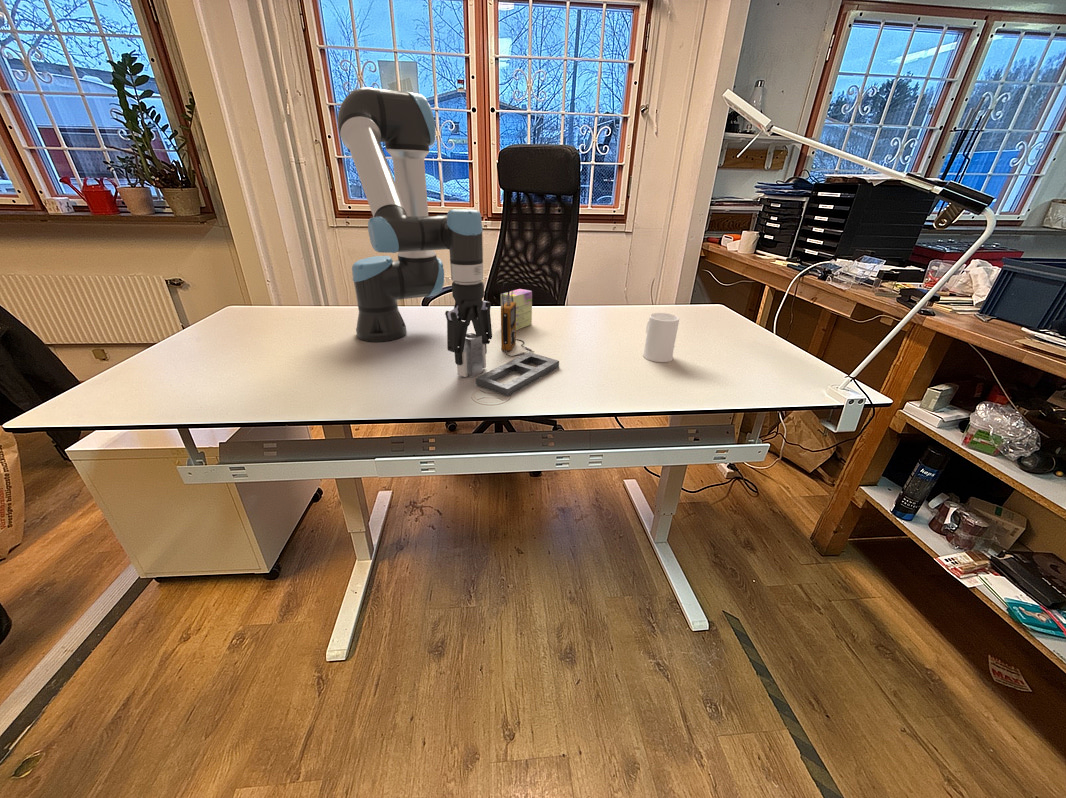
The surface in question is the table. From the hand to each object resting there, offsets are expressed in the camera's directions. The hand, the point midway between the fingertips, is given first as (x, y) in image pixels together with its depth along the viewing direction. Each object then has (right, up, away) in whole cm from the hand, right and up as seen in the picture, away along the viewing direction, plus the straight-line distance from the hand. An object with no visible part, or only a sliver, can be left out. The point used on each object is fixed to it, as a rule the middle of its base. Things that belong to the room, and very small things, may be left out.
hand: (472, 370), depth 110 cm
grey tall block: (0, 0, 0) cm, 0 cm away
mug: (+52, +5, +14) cm, 54 cm away
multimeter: (+12, +8, +17) cm, 22 cm away
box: (+10, +17, +35) cm, 41 cm away
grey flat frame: (+12, -1, -1) cm, 13 cm away
